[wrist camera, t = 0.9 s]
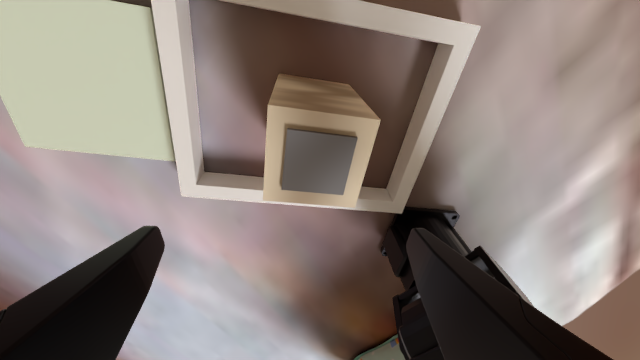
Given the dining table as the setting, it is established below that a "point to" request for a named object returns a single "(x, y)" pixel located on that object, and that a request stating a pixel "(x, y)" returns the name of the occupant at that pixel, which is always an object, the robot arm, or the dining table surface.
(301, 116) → the birch parts box
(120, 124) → the sage pad
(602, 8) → the dining table surface
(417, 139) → the white rectangular frame
